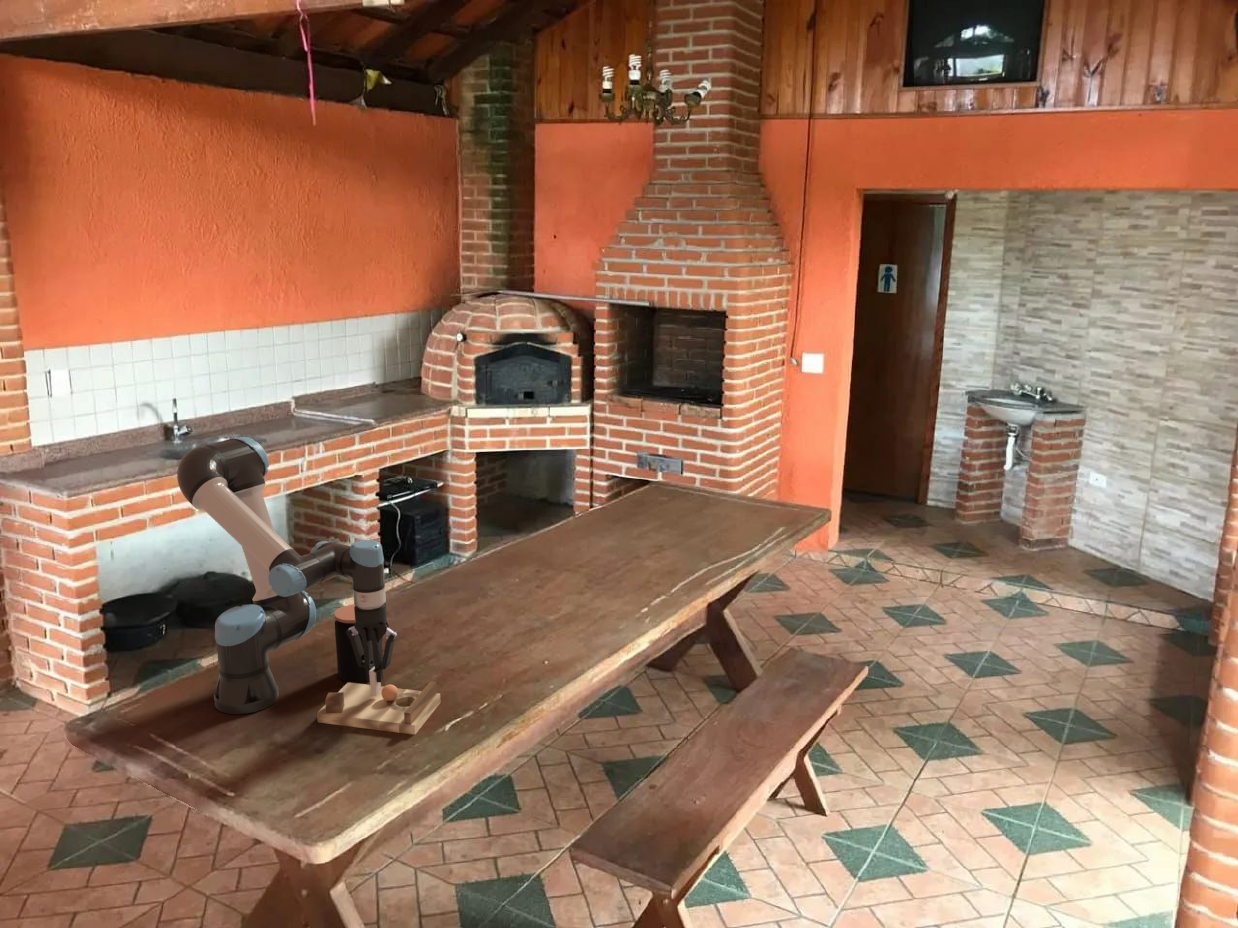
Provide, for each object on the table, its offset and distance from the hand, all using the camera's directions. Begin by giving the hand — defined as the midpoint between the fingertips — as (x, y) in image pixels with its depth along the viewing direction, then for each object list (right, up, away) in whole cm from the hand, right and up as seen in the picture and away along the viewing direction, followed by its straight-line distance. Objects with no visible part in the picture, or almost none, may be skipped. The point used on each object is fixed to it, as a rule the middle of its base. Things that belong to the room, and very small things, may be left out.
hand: (376, 693), depth 249 cm
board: (+1, -4, -1) cm, 5 cm away
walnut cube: (-9, -3, -5) cm, 10 cm away
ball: (+4, 0, -1) cm, 4 cm away
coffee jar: (-9, +1, +18) cm, 20 cm away
